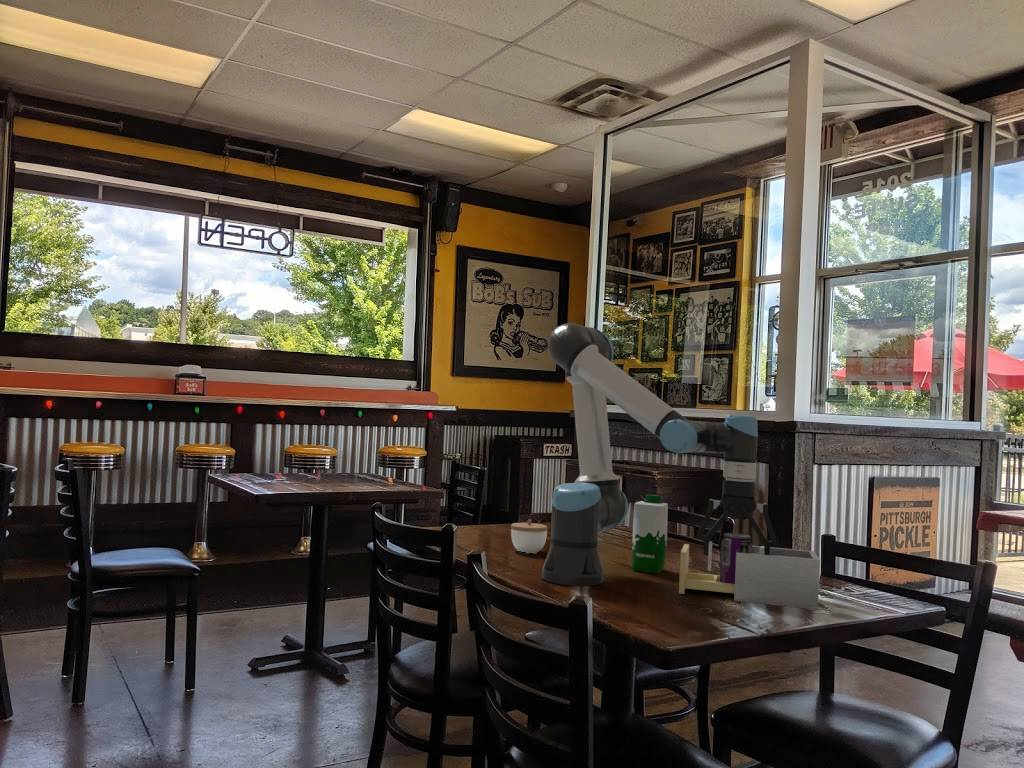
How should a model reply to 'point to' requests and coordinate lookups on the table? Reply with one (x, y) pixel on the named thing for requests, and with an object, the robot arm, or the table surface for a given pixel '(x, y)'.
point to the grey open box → (778, 577)
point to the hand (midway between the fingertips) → (735, 572)
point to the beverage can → (732, 554)
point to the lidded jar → (528, 536)
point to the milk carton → (649, 534)
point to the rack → (699, 578)
